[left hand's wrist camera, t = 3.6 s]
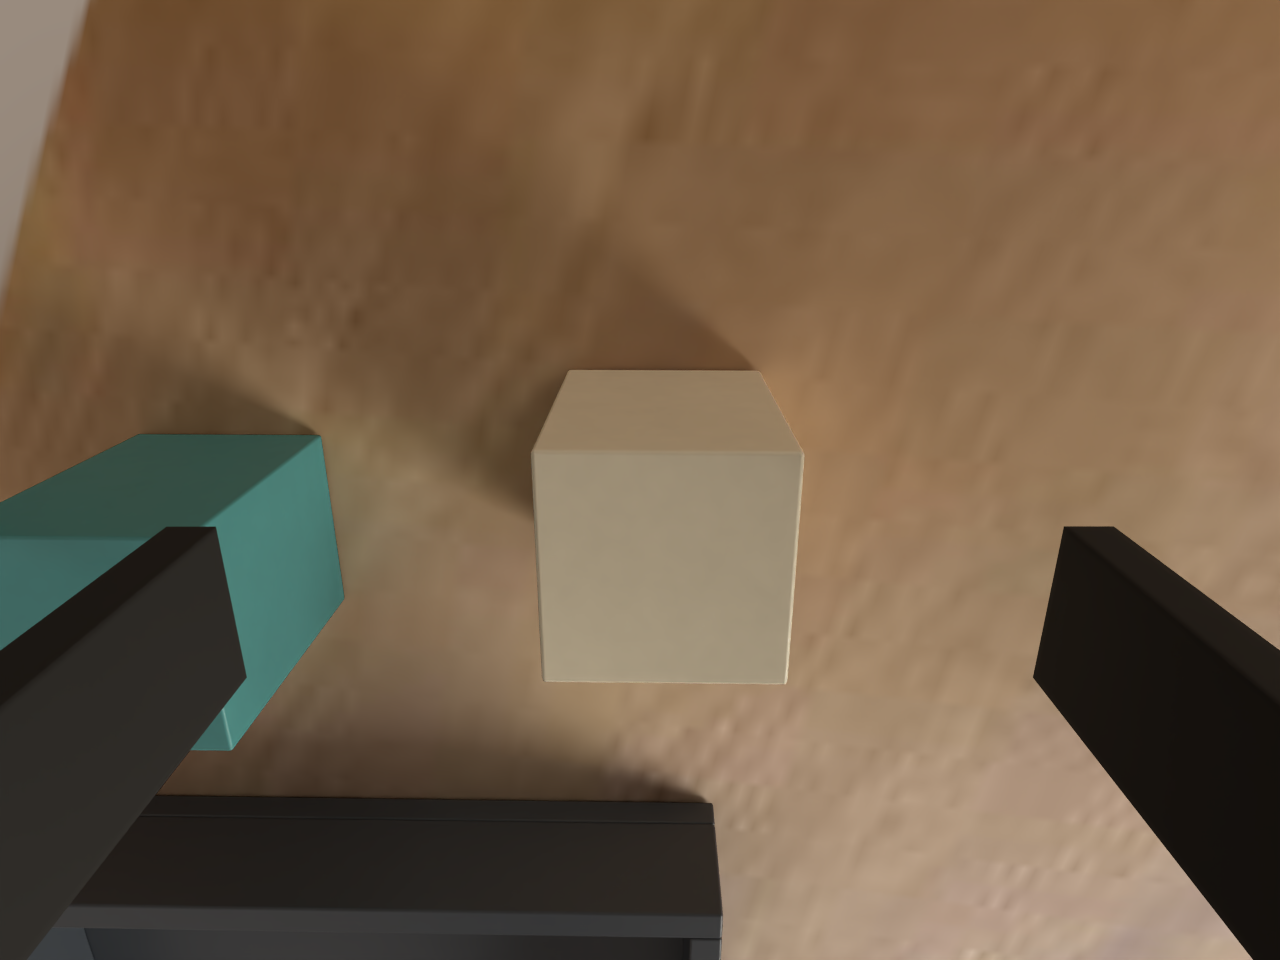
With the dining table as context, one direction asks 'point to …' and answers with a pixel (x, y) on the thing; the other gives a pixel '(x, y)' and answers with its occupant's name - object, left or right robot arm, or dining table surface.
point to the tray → (401, 882)
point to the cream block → (666, 528)
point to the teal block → (188, 497)
